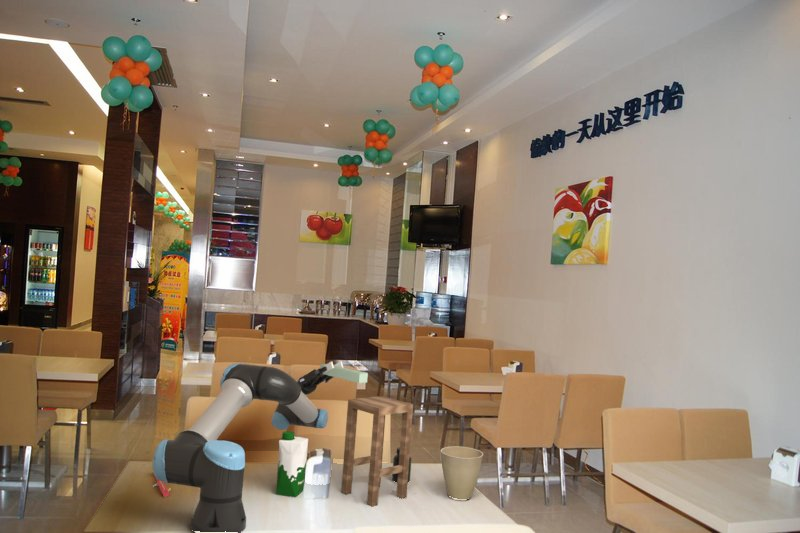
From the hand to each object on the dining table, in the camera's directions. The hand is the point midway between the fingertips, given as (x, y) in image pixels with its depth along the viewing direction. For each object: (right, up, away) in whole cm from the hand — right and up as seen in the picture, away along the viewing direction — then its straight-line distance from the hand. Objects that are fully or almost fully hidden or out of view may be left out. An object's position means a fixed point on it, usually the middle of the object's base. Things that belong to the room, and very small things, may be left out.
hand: (337, 364), depth 236 cm
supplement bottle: (+25, -42, -8) cm, 50 cm away
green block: (+2, -5, -3) cm, 6 cm away
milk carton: (-13, -39, -30) cm, 51 cm away
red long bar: (-57, -36, -31) cm, 74 cm away
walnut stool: (+15, -41, -26) cm, 51 cm away
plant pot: (+45, -43, -22) cm, 66 cm away
